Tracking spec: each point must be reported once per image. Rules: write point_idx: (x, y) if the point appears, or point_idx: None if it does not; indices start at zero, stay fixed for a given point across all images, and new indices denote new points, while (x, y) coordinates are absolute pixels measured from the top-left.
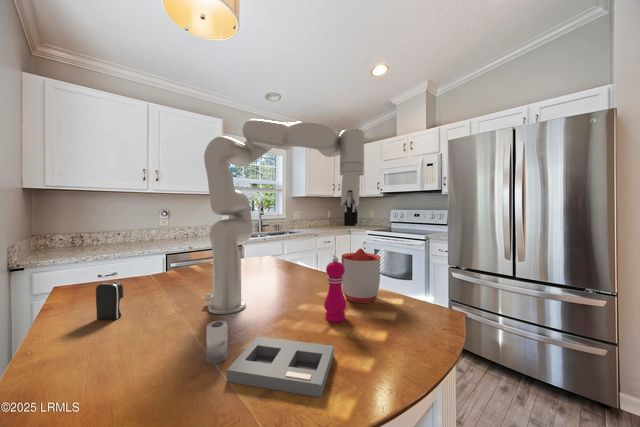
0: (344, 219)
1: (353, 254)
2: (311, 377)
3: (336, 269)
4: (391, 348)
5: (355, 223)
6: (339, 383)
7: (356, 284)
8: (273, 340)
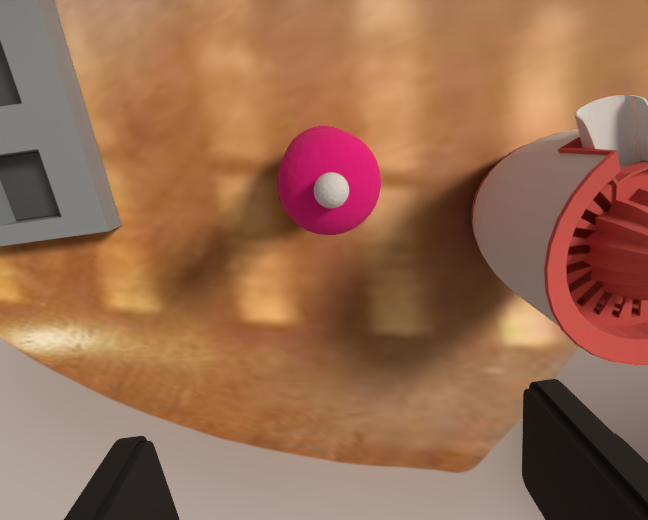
0: (74, 505)
1: None
2: None
3: (283, 206)
4: (216, 338)
5: (522, 468)
6: (42, 263)
7: (487, 223)
8: (42, 56)
